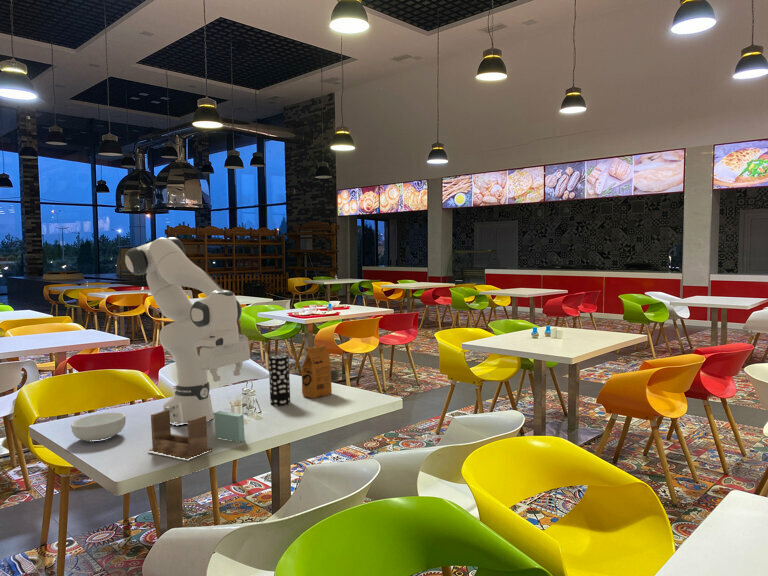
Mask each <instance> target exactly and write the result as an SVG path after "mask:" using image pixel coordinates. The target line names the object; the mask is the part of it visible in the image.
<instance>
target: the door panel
mask: <svg viewBox="0 0 768 576" xmlns="http://www.w3.org/2000/svg"><path fill="white" fill-rule="evenodd" d="M244 418H245V417H244V414H243V413H236V412H230V411H229V412H228V411H222V410H219V411H216V412H215V411H214V418H213V419H214V433H215V434H214V436H215V437H216V438H221V439H227V440H232V441H237V442H236V443H238V442H240V441H242V442H244V441H243V440H245V438H246V437H245V422H244V421H245V419H244ZM221 439H220V440H221ZM227 440H226V441H227ZM232 441H231V442H232ZM240 443H241V442H240Z"/></svg>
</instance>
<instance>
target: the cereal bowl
mask: <svg viewBox="0 0 768 576" xmlns="http://www.w3.org/2000/svg"><path fill="white" fill-rule="evenodd" d="M70 425H71V426H70V427H71V432H72V434H73V436H74V437H75V438H76V439H78V440H81V441H87V442H88V441H90V440H91V441H92V440H101V439H106V438H109V437H112V436H113V437H114V436H115V435H117V434H119V433H120V432H121V431H123V429H125V426H126V414H124V413H122V412H104V413H97V414H92V415H87V416H84V417H80V418H78V419H76V420H74V421H73V422H71V423H70ZM113 437H112V438H113Z"/></svg>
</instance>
